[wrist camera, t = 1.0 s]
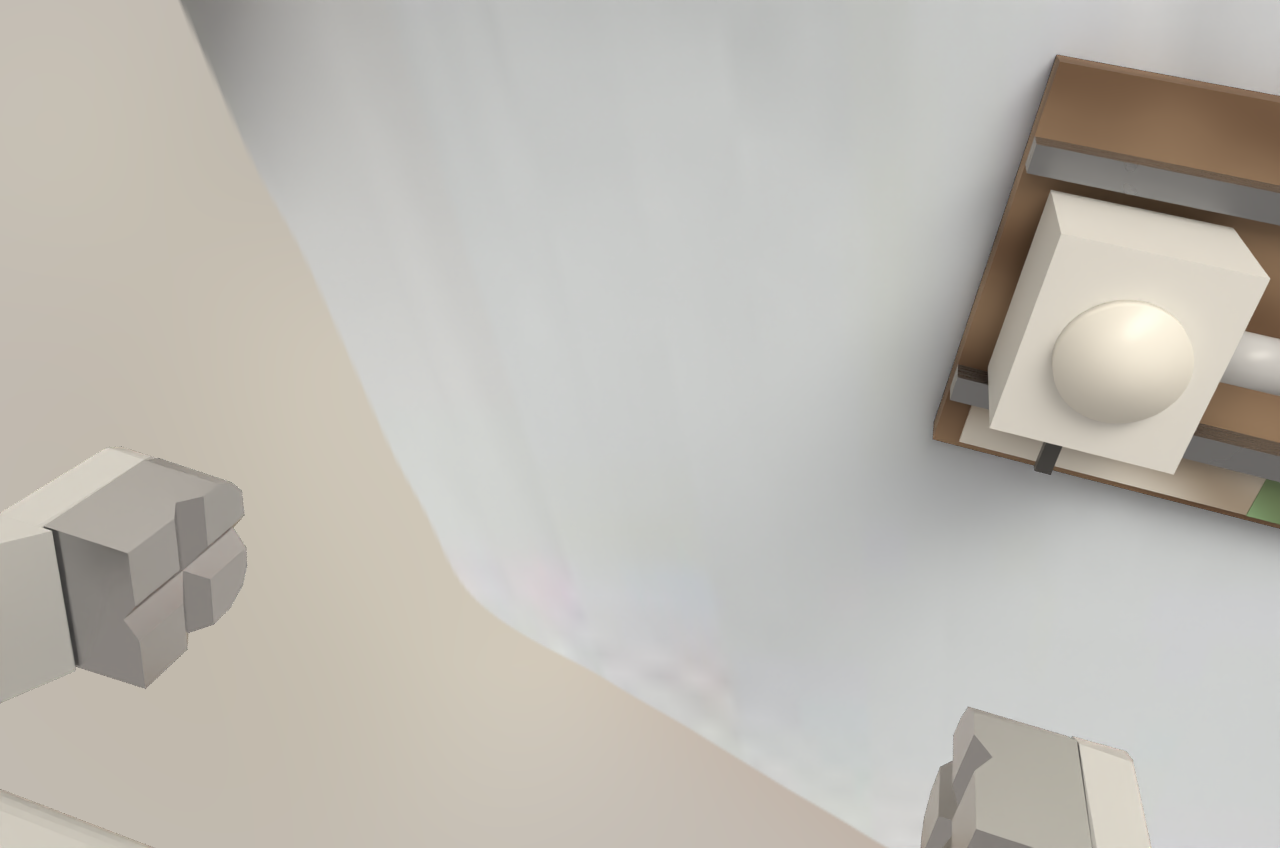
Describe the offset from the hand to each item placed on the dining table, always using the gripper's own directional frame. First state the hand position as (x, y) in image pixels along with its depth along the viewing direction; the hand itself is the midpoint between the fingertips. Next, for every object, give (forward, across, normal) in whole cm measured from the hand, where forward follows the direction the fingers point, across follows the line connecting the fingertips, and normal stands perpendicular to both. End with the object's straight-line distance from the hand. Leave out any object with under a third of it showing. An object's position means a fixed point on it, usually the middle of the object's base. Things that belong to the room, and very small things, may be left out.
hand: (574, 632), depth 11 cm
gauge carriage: (+29, -12, +6) cm, 32 cm away
